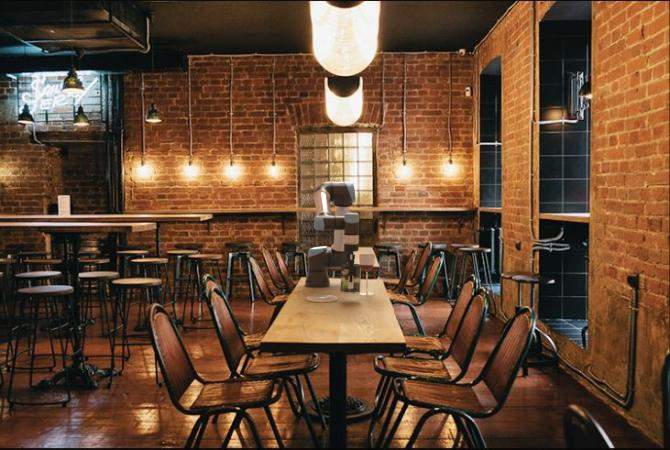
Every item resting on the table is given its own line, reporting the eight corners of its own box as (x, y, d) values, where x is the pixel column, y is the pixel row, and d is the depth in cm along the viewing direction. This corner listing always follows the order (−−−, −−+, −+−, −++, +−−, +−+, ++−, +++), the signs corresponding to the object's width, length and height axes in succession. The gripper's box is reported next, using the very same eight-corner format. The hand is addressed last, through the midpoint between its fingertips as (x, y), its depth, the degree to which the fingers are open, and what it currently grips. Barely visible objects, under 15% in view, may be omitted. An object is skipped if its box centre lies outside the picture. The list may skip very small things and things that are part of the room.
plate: (307, 296, 321) (307, 294, 321) (337, 297, 321) (337, 294, 321) (305, 302, 305) (305, 299, 305) (336, 302, 305) (336, 299, 305)
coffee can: (355, 294, 299) (355, 266, 298) (337, 292, 304) (337, 265, 303) (364, 291, 308) (364, 264, 307) (346, 289, 313) (346, 262, 312)
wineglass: (374, 292, 337) (375, 253, 336) (374, 295, 327) (374, 255, 326) (359, 292, 338) (359, 253, 337) (358, 295, 328) (358, 255, 327)
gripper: (344, 241, 316) (343, 282, 317) (343, 245, 293) (343, 290, 295) (358, 241, 315) (357, 282, 317) (359, 245, 293) (358, 290, 294)
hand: (350, 286), depth 306 cm, fingers closed on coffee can, 10 cm apart
